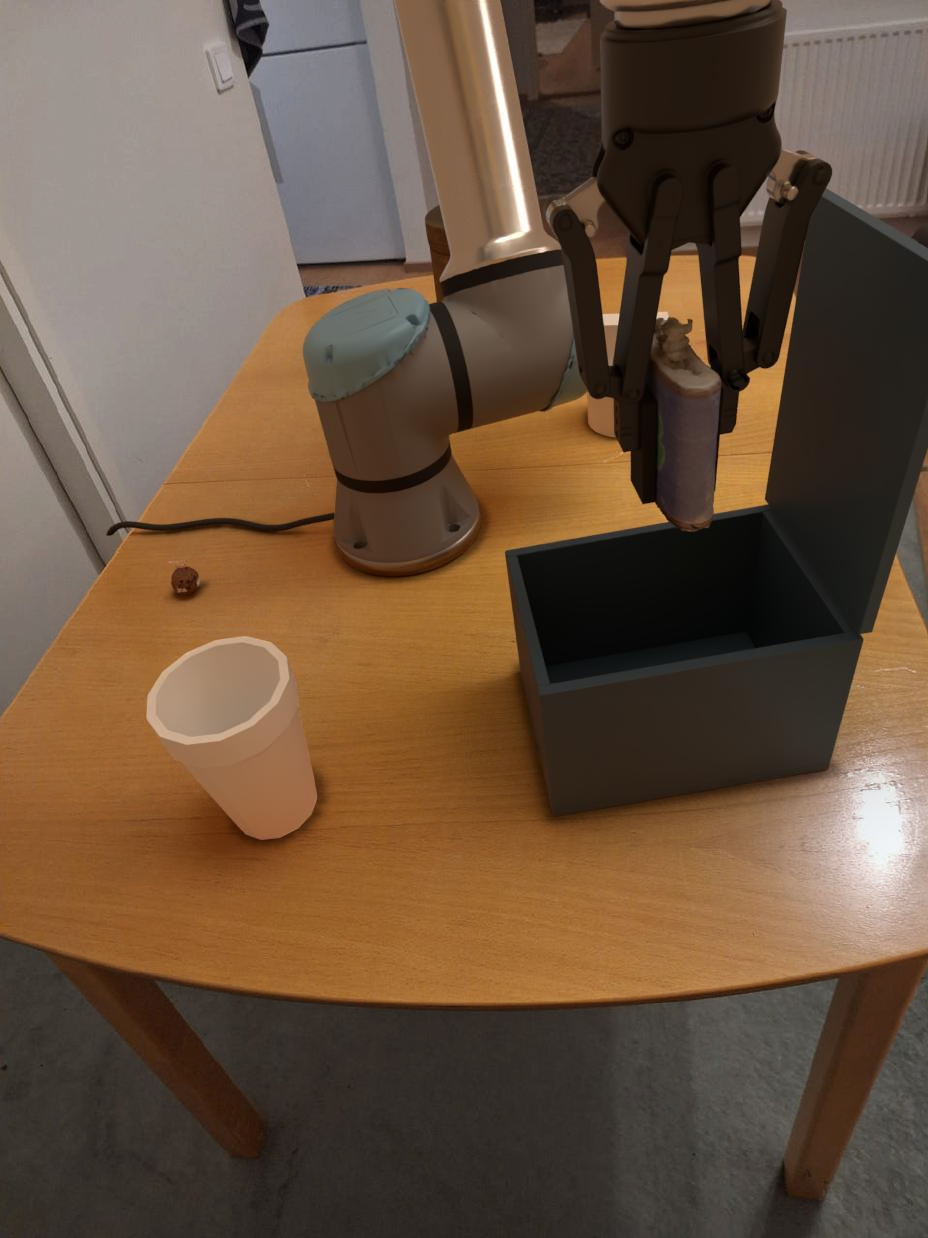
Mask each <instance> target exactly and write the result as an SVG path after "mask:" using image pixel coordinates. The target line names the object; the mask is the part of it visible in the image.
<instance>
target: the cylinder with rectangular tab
mask: <svg viewBox="0 0 928 1238" xmlns="http://www.w3.org/2000/svg"><path fill="white" fill-rule="evenodd" d="M602 314H603V322H604V331H605V339H606V348H607V356H608V365H609V366H612V365H613V358H614V351H615V343H616V336H617V329H618V321H619V314H620V312H618V313H602ZM668 317H669V312H668V311H658V313H657V319H658V318H664V320H667V319H668ZM586 398H587V399H586V400H587V423H588V425H589V428H590V429H591V430H593V431H594V433H597V434H599V435H601V436H605V437H609V438H615V439H617V438H616V436H615V434H614V399H613V398H610V397H604V398H602V399H594V398H592V397H591V396H590V394H589V392H588V391H587V393H586Z"/></svg>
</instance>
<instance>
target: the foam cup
mask: <svg viewBox="0 0 928 1238" xmlns="http://www.w3.org/2000/svg"><path fill="white" fill-rule="evenodd" d="M292 669H293V668H292V666H291V664H290V662H289V660H288V657H287V655H285V654H284V653H283V652H282V650H280V649H279V648H278V647H277V646H276V645H275V644H274V643H273V642H272V641H268V640H264V639H259V638H257V637H252V636H248V635H244V636H236V637H235V636H234V637H228V638H227V637H226V638H219V639H215V640H212V641H210V642H208V643H205V644H203V645H200V646H198V647H196V648H193V649H192V650H189V651H187V652H185V653H184V654H183V655H182V656H180V657H179V658H177V660H175V661H174V662H172V663H171V664H170V665H169V666H168V667H166V668H165V669H164V670H162V672H161V673H160V675H159V676H158V678H157V680H156V681H155V683H154V684H153V686H152V688H151V689H150V691H149V692H148V694H147V697H146V698H147V699H146V715H145V717H146V720H147V722H148V724H149V726H150V728H151V729H152V731H153V732H154V734H155V735H156V737H157V738H158V741H159V742H160V743H161V744H162V746H163V748H164V749H165V750H166V751H167V752H168V754H169V755H170V756H171V758H172V759H173V760H174V761H176V762H179V763H180V764H182V766H183V767H184V768H185V769H186V770H187V771H188V773H190V775H191V776H192V777H193V778H194V779H195V780H196V782H197V783H198V784H199V785H200V786H201V787H202V788H203V789H204V790H205V791H206V792H207V794H208V795H209V796H210V797H211V798H212V799H213V800H214V801H215V803H216V804H217V805H218V806H219V807H220V809H222V811H223V812H224V813H225V814H226V815H227V816H228V817H229V819H231V821H232V822H233V823H234V824H235V825H236V826H237V827H238V829H240V830H241V831H242V832H243V833H244V835H245V836H249V837H252V838H254V839H257V840H260V841H263V840H273V839H280V838H282V837H284V836H287V835H288V834H290V833H292V832H295V831H296V830H299V828H301V826H302V825H303V824H304V823H305V822H306V821H307V820H308V819H309V818H310V817H311V816H312V815H313V812H314V809H315V806H316V804H317V801H318V794H317V788H316V787H317V786H316V781H315V780H316V779H315V776H314V771H313V767H312V762H311V761H312V760H311V757H310V753H309V747H308V743H307V742H308V741H307V738H306V734H305V729H304V725H303V719H302V716H301V715H302V714H301V711H300V706H299V705H300V698H299V690H298V684H297V683H298V682H297V679H296V676H295V674H294V672H293V670H292Z"/></svg>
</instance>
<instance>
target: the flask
mask: <svg viewBox="0 0 928 1238" xmlns="http://www.w3.org/2000/svg"><path fill="white" fill-rule="evenodd" d="M668 316H669V315H668ZM686 320H687V323H682V322H680V321H679V319H678V318H676V317H673V316H672V317H671V316H669V317H668V319H667V320H664V318H658V319H656V325H655V331H654V337H653V343H652V349H651V355H650V361H649V367H648V373H647V379H646V385H647V386H648V388H649V390H650V391H651V393H652V394H653V396H654V398H655V399H656V401H657V402H658V406H657V445H656V485H655V502H654V504H655V505H656V507H657V508H658V509H659V511H660V512H661V514H662V515H663V516H664V517H665V520H666V521H667V522H670V523H672V524H673V525H675V527H677V528H680V529H681V530H682V531H689V532H690V531H691V532H695V531H697V530H699V529H702V528H705V527H706V528H708V527H709V526H710V523H711V522H712V520H713V515H714V514H715V511H714V502H715V492H714V484H715V460H716V444H717V432H718V420H719V404H720V393H721V379H720V376H719V375H718V374H717V373H716V372H715V371H713V370H712V369H711V368H710V365H709V364H708V365H707V364H706V363H705V362H704V361H703V360H702V358H701V357H700V356H698V354H697V353H696V352H695V350H694V349H693V348H692V345H691V344H689V343H690V342H691V340H690V338H689V337H688V336H687V335H688V334H690V333H692V331H693V323H694V321H693V319H691V318H687V319H686ZM690 525H694V526H695V527H698V529H693V527H691V526H690Z"/></svg>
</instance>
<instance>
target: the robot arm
mask: <svg viewBox="0 0 928 1238" xmlns="http://www.w3.org/2000/svg"><path fill="white" fill-rule="evenodd" d="M599 3H600V4H601V5H602V7H603V8H605V9H606V10H609V11H612V12H614V13H613V14H614V16H613V18H614V19H613V20H611V21H609V22H608V23H607V24H606V25H605V27H604V31H603V32H602V33H601V34H600V35H599V50H600V51H599V57H600V59H599V61H600V101H601V102H600V103H601V104H600V105H601V107H600V108H601V110H600V111H601V141H600V145H599V149H598V151H597V155H596V157H595V158H594V161H593V164H592V168H591V177H590V178H588V179H587V180H586V181H585V182H583V183H581V184H580V185H579V186H578V187H576V188H575V189H573V190H572V191H571V192H569V193H568V194H566V195H565V196H561V195H559V194H558V195H555V194H554V195H552V196H550V197H548V198H547V199H546V200H545V202H544V204H543V205H542V206H543V208H542V213H543V216H544V218H545V221H546V222H547V224H548V225H549V227H550V229H551V231H552V233H553V235H554V236H555V238H556V239H555V238H554V237H552V236H551V235H549V234H548V233H547V232H546V230H545V228H544V224H543V219H542V215H541V214H542V213H541V208H540V203H539V198H538V191H537V187H536V182H535V177H534V170H533V166H532V160H531V155H530V150H529V144H528V139H527V134H526V129H525V124H524V123H525V122H524V118H523V111H522V108H521V107H522V106H521V102H520V96H519V91H518V86H517V82H516V77H515V76H516V75H515V71H514V66H513V60H512V56H511V55H512V54H511V49H510V44H509V39H508V34H507V28H506V22H505V17H504V12H503V6H502V3H501V0H393V4H394V7H395V12H396V17H397V21H398V27H399V30H400V35H401V39H402V44H403V48H404V53H405V57H406V62H407V65H408V70H409V75H410V79H411V84H412V88H413V93H414V97H415V102H416V106H417V110H418V115H419V116H418V117H419V121H420V124H421V128H422V133H423V138H424V142H425V147H426V151H427V156H428V160H429V165H430V168H431V173H432V177H433V182H434V187H435V191H436V196H437V200H438V205H440V210H441V214H442V218H443V223H444V227H445V232H446V236H447V241H448V245H449V250H450V260H449V262H448V264H447V266H446V267H445V269H444V271H443V273H442V275H441V277H440V285H441V290H442V294H443V301H439V302H437V301H436V302H431V303H429V301H428V300H426V298H425V296H424V295H423V294H422V293H421V292H419V290H416V289H412V288H408V287H397V288H394V289H391V290H390V289H389V288H382V289H378V290H373V291H369V292H366V293H363V294H360V295H358V296H355V297H352V298H350V299H348V300H346V301H344V302H342V303H340V304H338V305H337V306H335V307H333V308H331V309H330V310H329V311H327V312H326V313H325V314H323V315H322V316H321V317H320V318H319V319H318V320H317V321H316V322H314V324H313V325H311V327H310V329H309V330H308V332H307V334H306V335H305V338H304V341H303V344H302V359H303V362H304V366H305V372H306V376H307V380H308V382H307V389H308V392H309V395H310V397H311V399H313V400H314V402H315V406H316V410H317V413H318V417H319V421H320V424H321V429H322V431H323V436H324V440H325V443H326V446H327V450H328V454H329V458H330V461H331V464H332V468H333V471H334V475H335V478H336V479H335V480H336V486H335V487H336V488H335V498H334V499H335V500H334V512H330V513H324V514H319V515H315V516H310V517H304V518H300V519H297V520H293V521H289V522H286V523H280V524H267V523H260V522H259V523H258V522H254V521H250V520H245V519H240V518H233V517H213V518H204V519H196V520H191V521H183V522H176V523H167V524H166V523H165V524H157V523H149V522H141V521H131V520H125V521H119V522H117V523H115V524H113V525H111V526H110V527H109V528H108V529H107V531H106V534H105V535H106V536H107V537H110V536H114V534H115V533H116V532H117V531H119V530H121V529H139V530H146V531H154V532H167V531H168V532H169V531H170V532H171V531H178V530H185V529H192V528H199V527H206V526H217V525H219V526H221V525H227V526H228V525H231V526H238V527H242V528H247V529H252V530H256V531H262V532H283V531H288V530H292V529H296V528H299V527H303V526H307V525H313V524H318V523H324V522H329V521H333V526H332V527H333V537H334V540H335V543H336V547H337V550H338V553H339V555H340V556H341V558H342V559H343V560H344V561H345V562H346V563H347V564H348V565H349V566H351V567H352V568H354V569H355V570H359V571H361V572H364V573H367V574H370V575H376V576H383V577H384V576H385V577H399V576H400V577H401V576H408V575H409V576H410V575H415V574H420V573H424V572H427V571H430V570H434V569H437V568H439V567H442V566H443V565H446V564H448V563H449V562H452V561H453V560H455V559H456V558H458V557H459V556H461V554H463V553H464V552H465V551H467V550H468V549H469V548H470V546H472V544H473V543H474V542H475V540H476V539H477V537H478V535H479V532H480V530H481V523H482V519H481V518H482V517H481V513H480V512H481V511H480V506H479V501H478V499H477V497H476V495H475V492H474V491H473V489H472V488H471V486H470V484H469V482H468V480H467V479H466V477H465V475H464V473H463V471H462V470H461V468H460V466H459V464H458V463H457V461H456V459H455V457H454V456H453V452H452V451H453V450H452V447H451V442H450V436H451V435H453V434H457V433H462V432H465V431H469V430H472V429H477V428H480V427H484V426H488V425H491V424H495V423H499V422H503V421H506V420H507V421H508V420H511V419H514V418H518V417H523V416H526V415H530V414H534V413H538V412H539V413H540V412H542V413H543V412H549V411H550V410H552V409H553V408H555V407H558V406H562V405H564V404H567V403H571V402H573V401H574V402H575V401H577V400H579V399H580V398H582V397H584V396H585V395H587V391H588V392H589V394H590V396H591V397H592V398H594V399H602V398H604V397H610V398H613V399H614V434H615V436H616V438H615V439H616V441H617V442H618V444H619V446H620V448H621V451H622V452H623V453H628V452H630V482H631V484H632V486H633V488H634V490H635V492H636V494H637V496H638V498H639V500H640V502H641V505H647V504H653V503H655V485H656V445H657V406H658V402H657V401H656V399H655V398H654V396H653V394H652V393H651V391H650V390H649V388H648V386H647V385H646V379H647V373H648V367H649V361H650V355H651V349H652V343H653V337H654V331H655V325H656V319H657V313H658V312H659V307H660V300H661V295H662V294H661V293H662V290H663V289H662V288H663V282H664V277H665V275H666V274H667V273H668V271H669V268H670V263H671V256H672V251H674V250H676V249H678V248H680V247H682V246H685V245H686V244H695V247H696V249H697V255H698V256H697V258H698V268H699V278H700V288H701V300H702V310H703V321H704V322H703V323H704V336H705V345H706V356H707V357H706V358H707V362H708V366H709V367H710V368H711V369H712V370H713V371H715V372H716V373H717V374H718V375H719V376H720V379H721V393H720V404H719V420H718V432H717V444H716V460H715V484H714V493H715V492H716V488H717V475H718V464H719V452H720V451H719V450H720V439H721V438H720V437H721V435H727V434H731V433H733V431H734V429H735V427H736V425H737V418H738V407H739V398H740V392H742V391H745V389H746V388H747V387H748V386H749V384H750V382H751V378H750V376H749V375H748V374H749V373H751V372H753V371H756V370H757V369H759V368H760V369H764V370H766V369H770V368H772V367H774V366H775V365H776V364H777V362H778V361H779V358H780V354H781V352H782V351H781V350H782V346H783V341H784V337H785V333H786V328H787V324H788V319H789V315H790V310H791V307H792V306H791V305H792V300H793V297H794V292H795V287H796V283H797V278H798V274H799V270H800V266H801V265H800V264H801V262H802V257H803V251H804V245H805V238H806V234H807V229H808V225H809V220H810V217H811V215H812V213H813V211H814V210H815V208H816V206H817V204H818V202H819V200H820V198H821V196H822V195H823V193H824V191H825V189H826V188H827V187H828V185H829V183H830V181H831V179H832V176H833V168H832V164H830V163H829V162H827V161H825V160H823V159H822V158H820V157H818V156H816V155H814V154H812V153H810V152H808V151H806V150H802V149H799V150H796V151H794V150H790V149H787V148H785V147H783V142H782V136H781V134H780V132H779V129H778V127H777V122H776V117H775V116H776V115H775V110H776V105H777V101H778V97H779V92H780V81H781V74H782V73H781V72H782V64H783V63H782V62H783V55H784V53H783V52H784V44H785V35H786V26H787V25H786V24H787V14H788V10H787V8H785V7H783V2H782V1H781V0H599ZM765 181H766V187H765V188H766V189H765V190H766V194H767V196H768V200H767V202H766V206H765V210H764V214H763V219H762V224H761V230H760V234H759V239H758V246H757V249H756V250H757V251H756V255H755V262H754V267H753V272H752V278H751V283H750V289H749V292H748V293H749V294H748V299H747V304H746V308H745V309H746V311H745V316H744V320H743V314H742V313H743V312H742V296H741V278H740V262H739V261H740V257H741V256H742V252H743V251H742V249H743V247H742V231H741V229H742V228H741V217H742V216H743V214H744V213H745V211H746V210H747V208H748V207H749V205H750V204H751V202H752V201H753V200H754V198H755V196H756V195H757V193H758V192H759V190H760V189H761V188H762V186H763V184H764V183H765ZM604 203H606V204H607V205H608V207H609V208H610V209H611V211H612V213H614V215H615V216H616V217H617V219H618V220H619V221H620V223H621V224H622V225H623V226H624V228H625V229H626V230H627V234H626V241H625V259H626V263H625V270H624V277H623V278H624V279H623V285H622V292H621V298H620V299H621V301H620V307H619V313H620V314H619V313H618V314H619V321H618V329H617V336H616V343H615V351H614V358H613V365H612V366H609V365H608V356H607V348H606V339H605V331H604V322H603V314H604V313H603V307H602V305H603V304H602V297H601V289H600V281H599V272H598V271H599V270H598V263H597V259H596V254H595V250H594V247H593V245H592V243H591V239H593V238H594V237H595V236H596V235H598V232H599V230H600V221H599V211H600V208H601V207H602V206H603V204H604Z"/></svg>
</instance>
